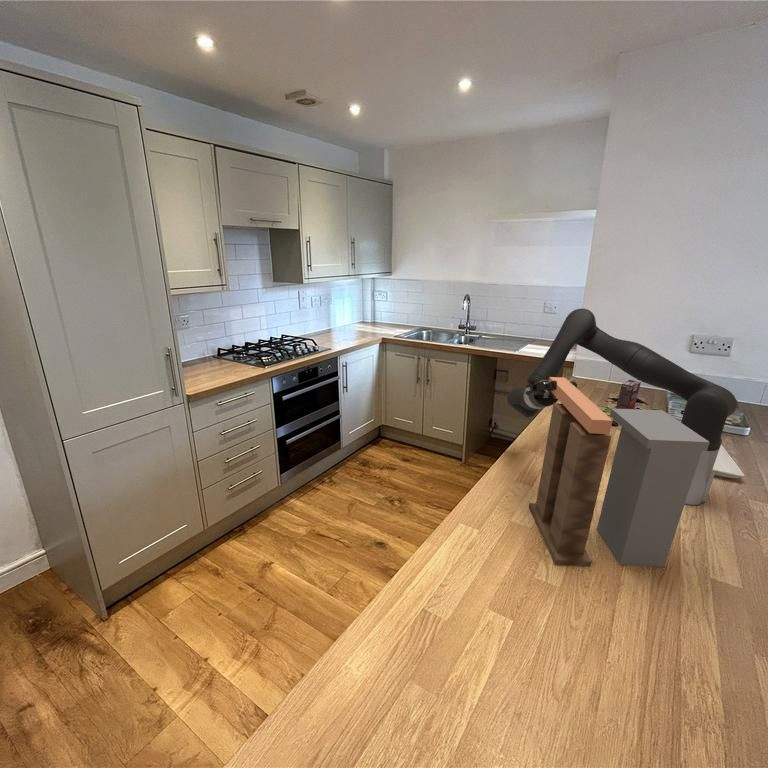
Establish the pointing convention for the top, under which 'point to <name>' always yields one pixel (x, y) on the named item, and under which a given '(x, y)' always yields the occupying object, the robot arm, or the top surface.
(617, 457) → the pedestal
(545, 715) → the top surface
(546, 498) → the gate
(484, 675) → the top surface
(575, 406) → the beam
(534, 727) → the top surface
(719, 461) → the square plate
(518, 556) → the top surface
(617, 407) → the supplement box
